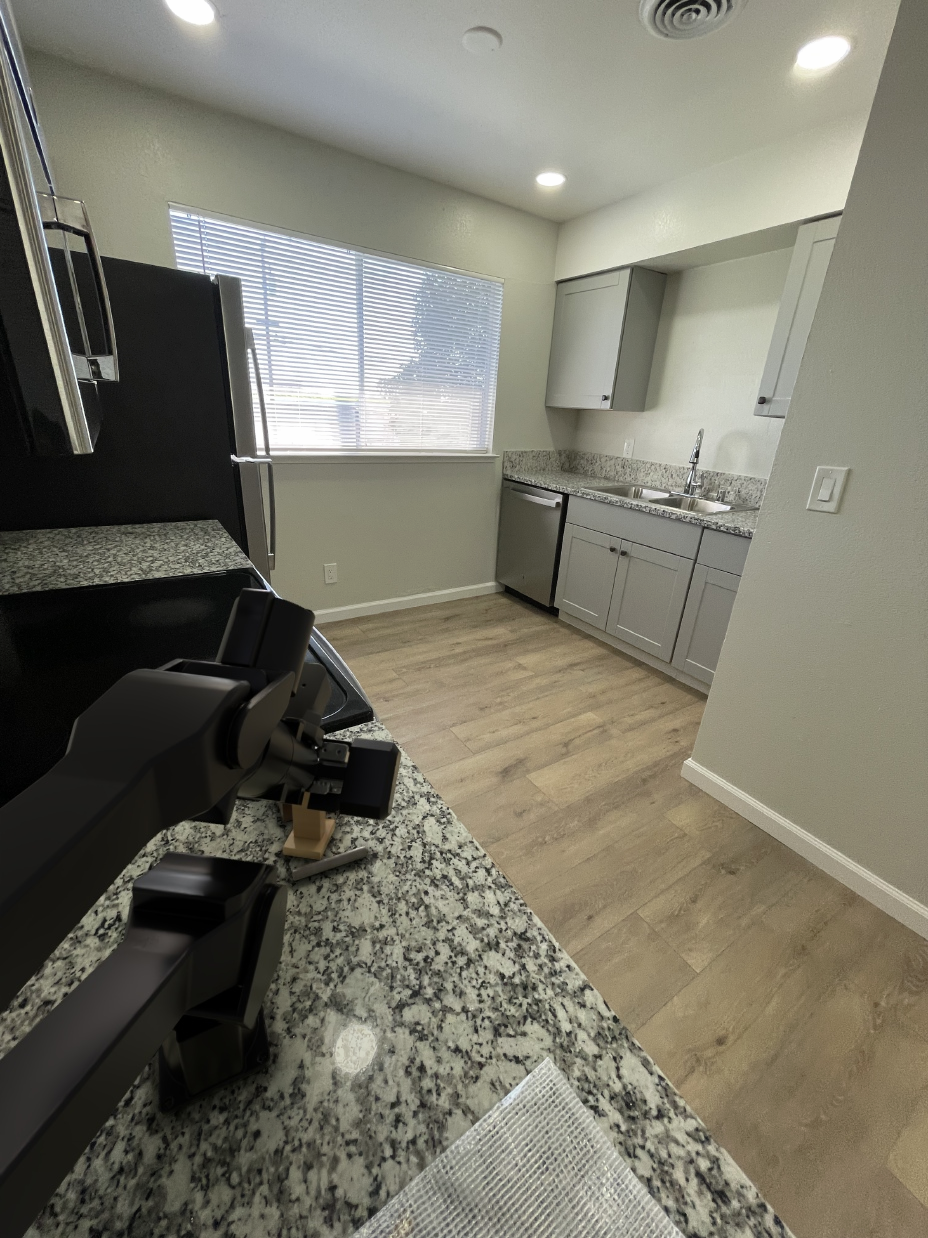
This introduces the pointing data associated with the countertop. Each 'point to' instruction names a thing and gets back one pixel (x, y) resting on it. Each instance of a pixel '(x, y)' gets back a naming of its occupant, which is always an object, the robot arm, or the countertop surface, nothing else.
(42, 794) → the robot arm
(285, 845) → the wooden post stand
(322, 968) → the countertop surface
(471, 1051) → the countertop surface
